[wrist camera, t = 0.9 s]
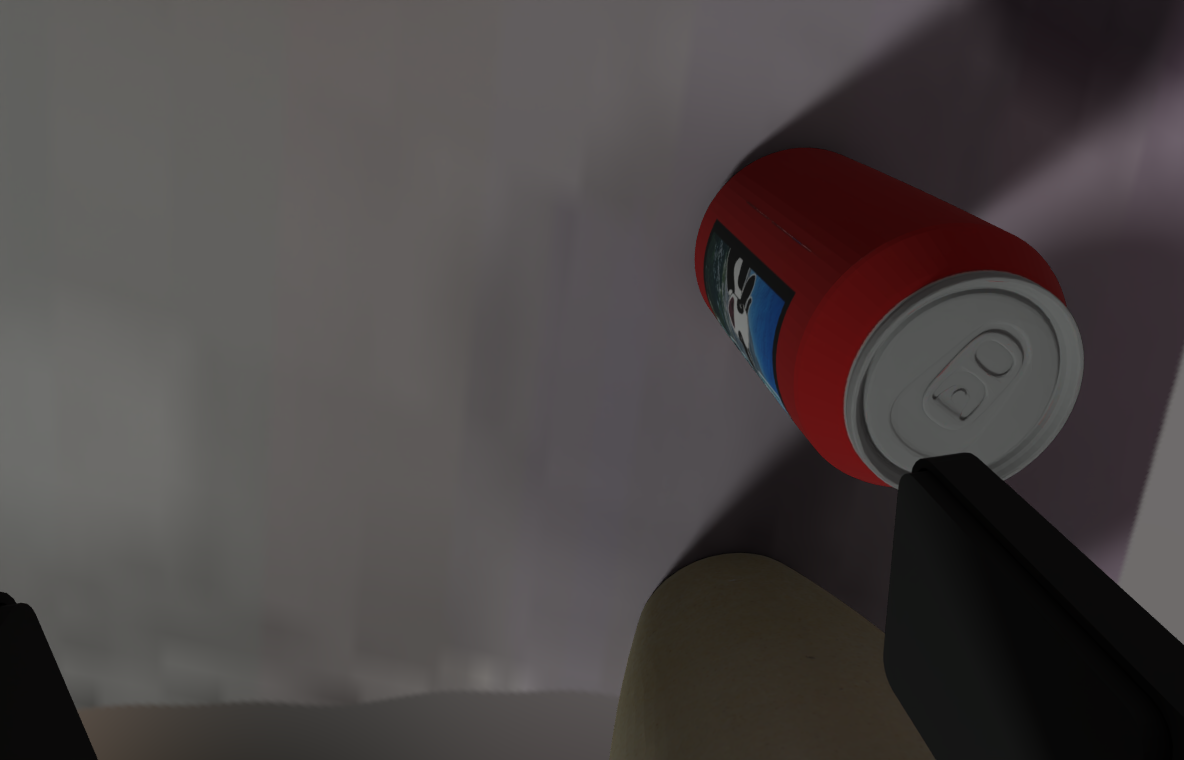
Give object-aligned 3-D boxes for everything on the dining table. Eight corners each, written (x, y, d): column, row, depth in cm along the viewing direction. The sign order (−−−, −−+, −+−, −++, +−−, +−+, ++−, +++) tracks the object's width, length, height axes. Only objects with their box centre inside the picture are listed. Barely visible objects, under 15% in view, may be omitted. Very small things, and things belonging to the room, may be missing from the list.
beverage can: (646, 266, 30) (756, 433, 19) (778, 98, 28) (981, 175, 17) (789, 370, 32) (959, 570, 21) (919, 219, 30) (1174, 355, 20)
